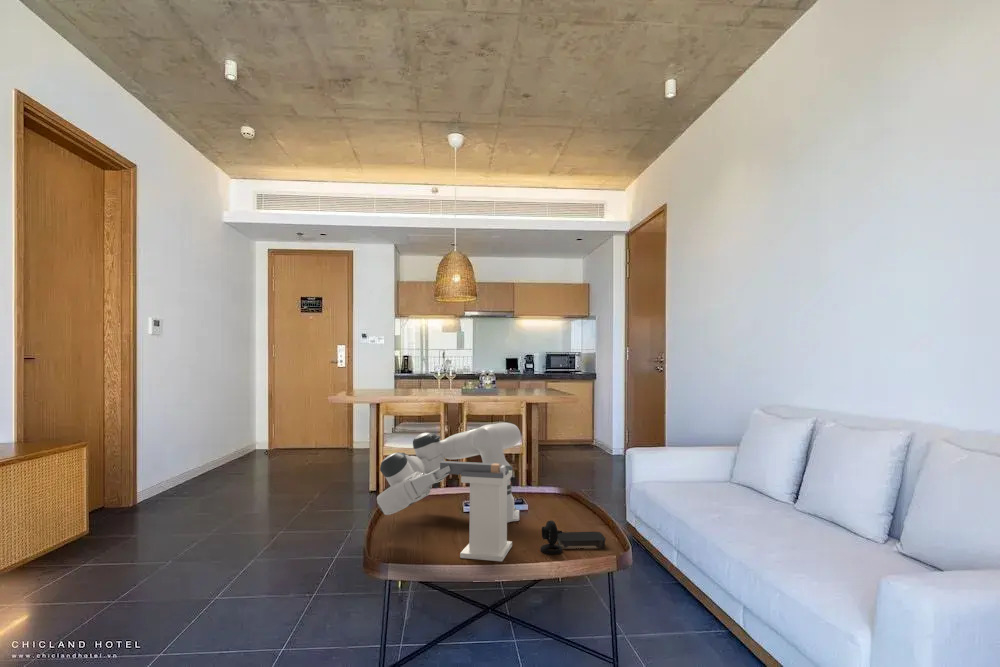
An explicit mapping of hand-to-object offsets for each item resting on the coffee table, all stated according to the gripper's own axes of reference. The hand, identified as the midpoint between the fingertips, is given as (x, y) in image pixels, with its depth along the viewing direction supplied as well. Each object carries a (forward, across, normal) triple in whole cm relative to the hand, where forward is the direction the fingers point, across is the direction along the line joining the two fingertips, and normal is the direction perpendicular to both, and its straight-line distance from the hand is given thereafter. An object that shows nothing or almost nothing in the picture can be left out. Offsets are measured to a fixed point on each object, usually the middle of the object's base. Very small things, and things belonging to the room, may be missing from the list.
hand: (452, 466), depth 177 cm
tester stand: (-4, -4, -30) cm, 31 cm away
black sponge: (+21, -19, -46) cm, 54 cm away
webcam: (+14, -10, -41) cm, 44 cm away
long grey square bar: (+4, 0, -5) cm, 7 cm away
